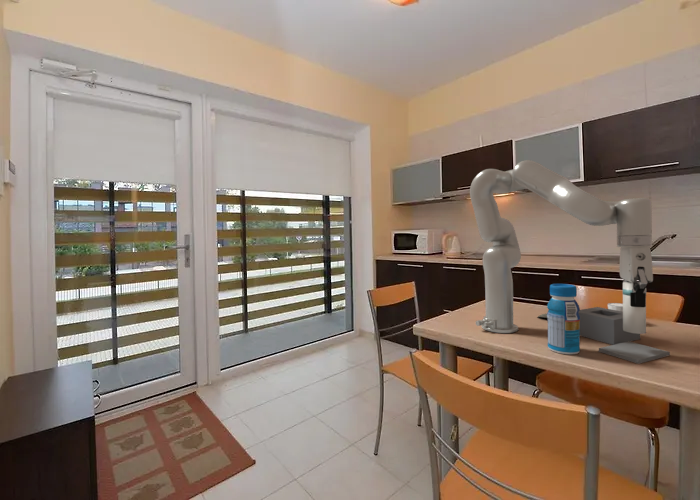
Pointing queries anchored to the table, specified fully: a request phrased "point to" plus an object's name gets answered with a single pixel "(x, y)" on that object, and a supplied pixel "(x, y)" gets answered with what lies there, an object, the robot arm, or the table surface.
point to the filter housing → (604, 326)
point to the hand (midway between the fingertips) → (633, 304)
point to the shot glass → (615, 306)
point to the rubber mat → (634, 352)
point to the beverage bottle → (563, 319)
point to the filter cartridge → (632, 313)
